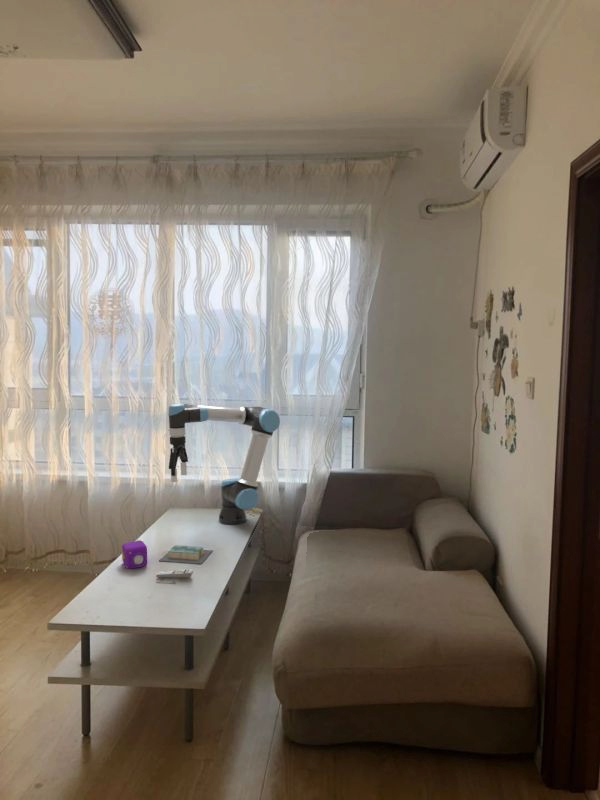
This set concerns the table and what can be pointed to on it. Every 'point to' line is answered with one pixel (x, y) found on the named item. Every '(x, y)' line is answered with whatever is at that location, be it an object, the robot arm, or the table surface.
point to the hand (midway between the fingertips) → (179, 478)
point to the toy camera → (134, 554)
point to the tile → (185, 552)
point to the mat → (188, 561)
